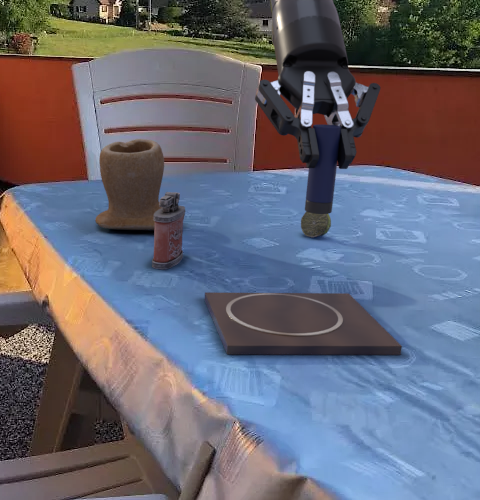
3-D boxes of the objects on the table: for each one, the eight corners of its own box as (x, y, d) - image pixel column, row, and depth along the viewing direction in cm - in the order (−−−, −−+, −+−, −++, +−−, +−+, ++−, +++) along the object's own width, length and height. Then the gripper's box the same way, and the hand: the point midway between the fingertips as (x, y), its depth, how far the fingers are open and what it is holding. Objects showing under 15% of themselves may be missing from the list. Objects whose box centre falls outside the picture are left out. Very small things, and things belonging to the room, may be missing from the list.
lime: (330, 240, 115) (333, 211, 114) (300, 238, 116) (302, 208, 115) (328, 234, 120) (331, 205, 118) (299, 232, 120) (302, 203, 119)
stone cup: (91, 237, 114) (91, 143, 110) (99, 219, 125) (99, 134, 121) (185, 240, 113) (189, 147, 109) (184, 223, 125) (188, 137, 120)
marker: (326, 208, 77) (336, 124, 74) (335, 214, 74) (345, 127, 72) (301, 208, 77) (309, 124, 74) (308, 214, 74) (317, 127, 71)
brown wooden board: (348, 300, 88) (349, 292, 88) (400, 355, 73) (402, 344, 72) (204, 299, 87) (204, 291, 87) (226, 354, 72) (227, 344, 71)
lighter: (165, 252, 106) (168, 187, 104) (187, 255, 105) (190, 189, 102) (147, 267, 99) (149, 197, 96) (169, 270, 98) (172, 199, 95)
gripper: (253, 11, 76) (270, 139, 68) (379, 15, 77) (411, 143, 69) (240, 60, 83) (254, 183, 75) (356, 64, 84) (383, 186, 76)
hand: (329, 163), depth 72 cm, fingers closed on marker, 2 cm apart
